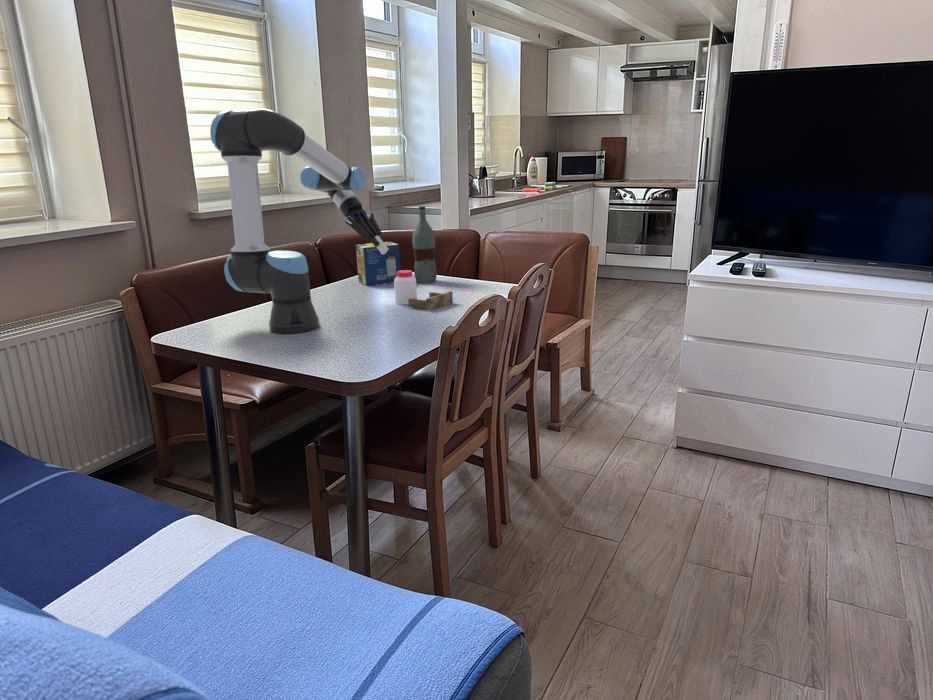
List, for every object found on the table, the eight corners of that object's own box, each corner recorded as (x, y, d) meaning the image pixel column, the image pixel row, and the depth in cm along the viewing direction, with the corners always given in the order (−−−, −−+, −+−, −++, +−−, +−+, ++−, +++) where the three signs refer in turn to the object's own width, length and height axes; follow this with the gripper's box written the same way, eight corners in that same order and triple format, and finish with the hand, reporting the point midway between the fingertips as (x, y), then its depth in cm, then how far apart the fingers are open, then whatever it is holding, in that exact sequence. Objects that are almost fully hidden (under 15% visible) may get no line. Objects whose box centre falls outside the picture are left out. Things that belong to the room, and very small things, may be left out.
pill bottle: (416, 304, 230) (414, 273, 226) (394, 304, 230) (392, 273, 227) (418, 299, 237) (416, 269, 234) (396, 299, 237) (394, 269, 234)
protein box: (358, 282, 273) (355, 244, 268) (393, 277, 279) (390, 241, 274) (365, 286, 263) (362, 247, 259) (401, 281, 269) (399, 243, 265)
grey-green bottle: (434, 284, 262) (430, 207, 253) (412, 284, 264) (407, 208, 255) (439, 279, 271) (436, 205, 262) (418, 279, 272) (414, 205, 264)
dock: (429, 310, 219) (428, 299, 218) (408, 307, 225) (407, 296, 223) (452, 302, 229) (452, 291, 228) (432, 300, 235) (431, 289, 233)
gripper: (356, 208, 246) (392, 255, 242) (330, 212, 236) (367, 261, 232) (365, 194, 241) (402, 242, 237) (339, 197, 231) (377, 247, 227)
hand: (385, 251), depth 234 cm, fingers closed
